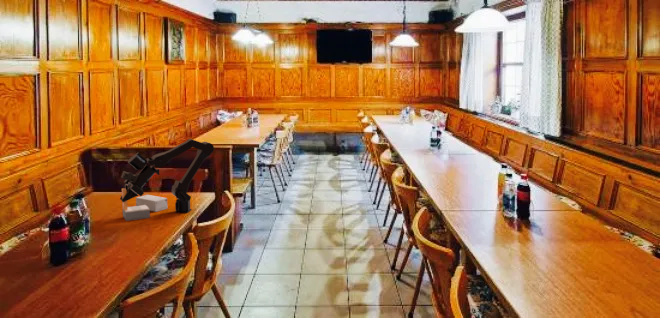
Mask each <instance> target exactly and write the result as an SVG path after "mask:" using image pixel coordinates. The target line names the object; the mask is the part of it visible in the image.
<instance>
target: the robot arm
mask: <svg viewBox="0 0 660 318" xmlns="http://www.w3.org/2000/svg"><path fill="white" fill-rule="evenodd" d="M192 148H193V149H197V151H196V155H195V157H194V159H193V160H192V162H191V164H190V166H188V168H187V170H186V172H185V173H184V175H183V176H182V178H181V179H179V180H177V179H176V180H175V182H174V184H173V185H172V186H171V194H172V195H173V196H174V197H175V198H176V200H175V202H174V204H175V206H174V207H175V211H174V213H179V214H180V213H183V214H185V213H186V214H188V213H189V212H191V211H192V208H191V198H192V196H191V195H190V194H188V192H189V191H188V190H189V186H190V183H191V182H192V180H193V179H194V177H195V176H196V173H197V172H198V171H199V169H200V168H201V166H202V164H203V163H204V161H205V160H206V159H208V158H209V157H210V156H211V155H212V154H213V152H214V150H215V146H214V144H212V143H211V142H208V141H202V142H201V141H198V140H194V139H191V138H188V139H187V140H186V141H184V142H182V143H180V144H178V145H176V146H175V147H172V148H171V149H169V150H167V151H163V152H159V153H156V154H154V155H152V156H151V157H147V158H146V157H144V156H143V155H142V154H141V153H140V152H137V153H134V154H133V155H132V156H131V157H130V158H129V159H128V160H127V163H128V164H129V165H130V166H132V167H133V168H134V169H135V170H136V171H138V170H140V171H139V172H136V173H135V174H133V173H132V172H130V171H128V172H127V171H124V170H123V171H122V172H121V175H120V178H121V179H123V180H124V181H123V183H125V184H124V188H125V189H126V190H127V193H126V195H125V196H124V198H123V199H122V195H121V196H120V198H119V200H120V201H121V203H122V202H125V201H127V202H128V201H129V200H131V199H134V198H137V197H140V196H144V193H145V191H144V190H143V187H144V186H145V185H146V184H148V183H149V180H150V179H151V178H152V177H153V176H154V175H155V174H157V176H160V168H163V167H165V166H166V165H167V164H168V163H169V162H171V160H172V159H173V158H175V157H178V156H179V155H181V154H182V153H185V152H186V151H189V150H190V149H192ZM147 163H148V164H147Z"/></svg>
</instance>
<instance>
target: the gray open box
mask: <svg viewBox="0 0 660 318" xmlns="http://www.w3.org/2000/svg"><path fill="white" fill-rule="evenodd" d="M150 213H151V211H150V210H143V211H135V212H127V213H126V212H125V211H124V210H123V209H122V217H123V219H124V220H125V221H126V222H128V221H129V222H130V221H135V220H144V219H150V218H151V214H150Z"/></svg>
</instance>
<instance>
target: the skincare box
mask: <svg viewBox="0 0 660 318" xmlns="http://www.w3.org/2000/svg"><path fill="white" fill-rule="evenodd" d="M141 205H146V206H147V207H148V208H149V210H150V212H160V211H163V210H167V209H168V198H167V197H162V196H157V195H151V194H145V195H144V194H143V195H142V196H140V195H139V196H136V197H135V206H141Z"/></svg>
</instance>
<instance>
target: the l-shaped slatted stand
mask: <svg viewBox="0 0 660 318" xmlns="http://www.w3.org/2000/svg"><path fill="white" fill-rule="evenodd" d="M126 193H127V190H126V189H125V187H123V188H121V196H122V199H123V198H124V196H125V195H126ZM121 203H122V211H123V210H124V211H125V212H126V213H127V212H135V211H143V210H149V208H148V207H147V206H146V205H141V206H136V205H134V206H128V200H127V201H125V202H122V201H121Z"/></svg>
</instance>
